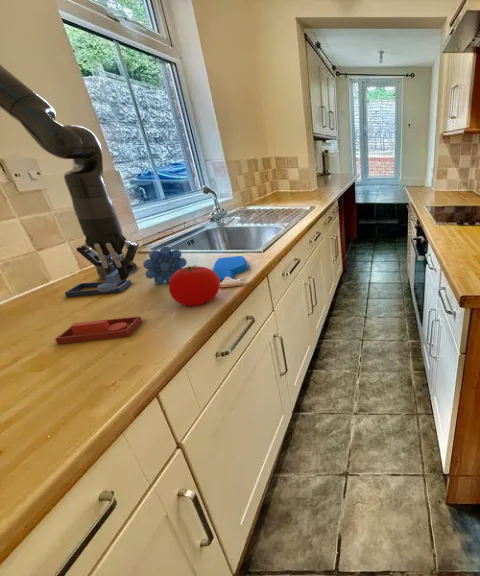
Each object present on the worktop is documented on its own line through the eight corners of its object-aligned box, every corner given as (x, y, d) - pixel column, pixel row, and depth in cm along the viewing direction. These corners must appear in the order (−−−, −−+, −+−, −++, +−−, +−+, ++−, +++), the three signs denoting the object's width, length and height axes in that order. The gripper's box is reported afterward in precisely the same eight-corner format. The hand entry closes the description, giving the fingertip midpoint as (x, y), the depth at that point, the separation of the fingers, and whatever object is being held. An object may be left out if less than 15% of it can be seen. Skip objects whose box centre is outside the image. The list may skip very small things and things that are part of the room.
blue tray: (67, 299, 91) (64, 292, 90) (82, 289, 97) (79, 283, 97) (121, 294, 94) (118, 288, 93) (132, 285, 100) (130, 279, 99)
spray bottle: (213, 258, 115) (209, 283, 94) (246, 254, 118) (248, 278, 98) (215, 266, 116) (211, 292, 95) (247, 262, 120) (250, 286, 99)
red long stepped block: (131, 325, 76) (127, 315, 75) (123, 333, 73) (119, 323, 72) (82, 331, 74) (77, 320, 73) (72, 339, 71) (67, 328, 70)
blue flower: (192, 275, 107) (183, 241, 102) (191, 283, 101) (181, 246, 97) (151, 281, 103) (140, 245, 98) (147, 289, 97) (135, 251, 92)
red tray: (58, 346, 69) (54, 338, 68) (78, 330, 75) (75, 322, 75) (129, 338, 72) (126, 330, 71) (143, 323, 78) (140, 316, 77)
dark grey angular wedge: (118, 270, 113) (86, 255, 102) (138, 263, 114) (107, 248, 102) (119, 294, 110) (86, 281, 99) (139, 287, 110) (108, 274, 99)
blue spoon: (112, 291, 79) (108, 280, 78) (95, 292, 78) (91, 282, 77) (131, 276, 88) (128, 267, 87) (116, 277, 87) (113, 268, 86)
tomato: (178, 297, 92) (168, 263, 87) (224, 291, 96) (217, 257, 91) (170, 314, 82) (158, 277, 78) (221, 307, 86) (213, 270, 82)
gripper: (135, 211, 84) (154, 272, 91) (74, 213, 81) (98, 276, 88) (121, 216, 77) (142, 282, 84) (53, 219, 74) (81, 287, 81)
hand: (119, 279), depth 86 cm, fingers closed on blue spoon, 1 cm apart
